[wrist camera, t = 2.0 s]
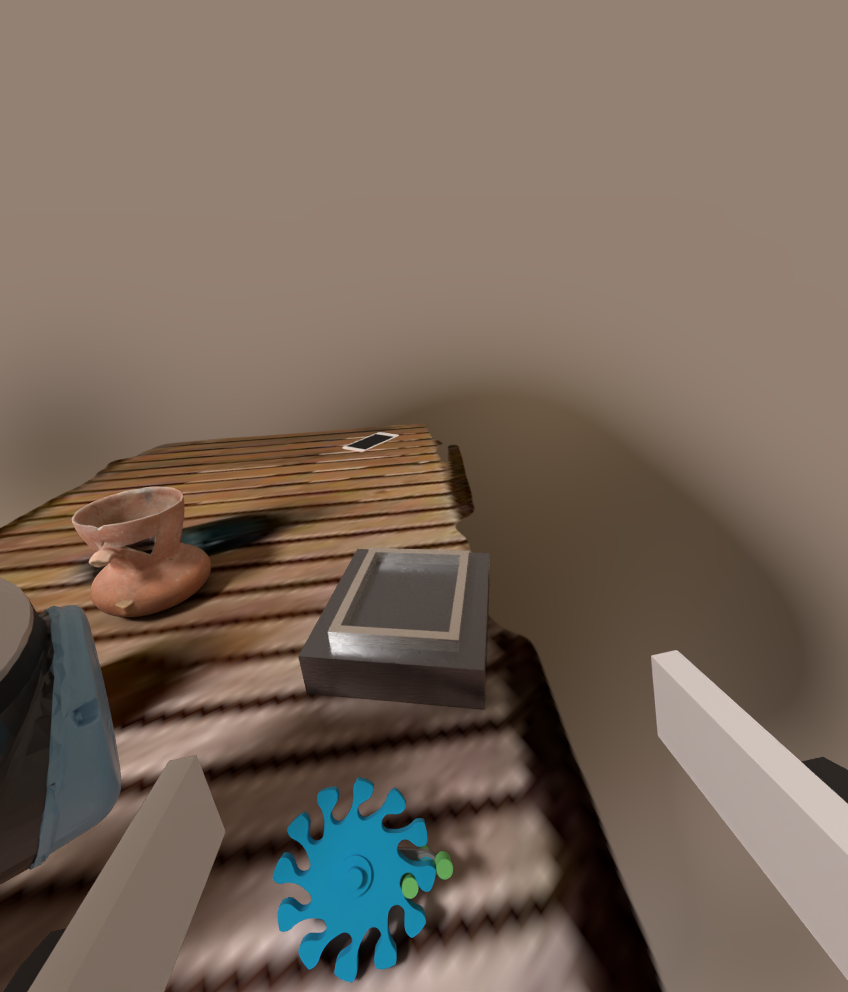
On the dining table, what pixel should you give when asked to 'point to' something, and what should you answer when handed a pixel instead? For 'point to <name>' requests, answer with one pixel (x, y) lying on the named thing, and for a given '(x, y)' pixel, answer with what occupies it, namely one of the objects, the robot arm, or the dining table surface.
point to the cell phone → (370, 442)
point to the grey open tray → (404, 629)
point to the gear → (358, 877)
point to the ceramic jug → (141, 552)
